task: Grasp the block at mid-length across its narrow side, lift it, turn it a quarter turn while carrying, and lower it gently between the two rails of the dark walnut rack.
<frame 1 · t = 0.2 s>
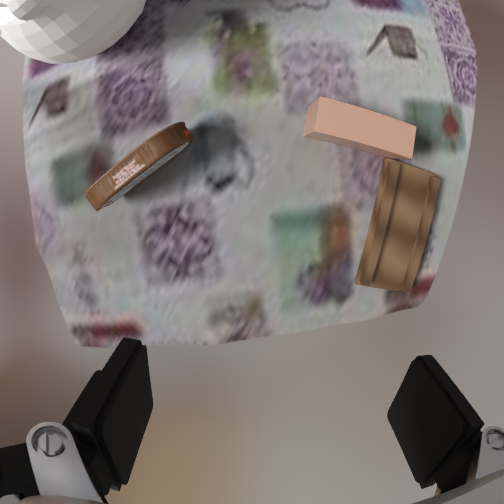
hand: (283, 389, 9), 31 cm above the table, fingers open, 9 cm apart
white vase: (106, 23, 30), on the table
rack: (397, 227, 39), on the table
tin: (149, 167, 37), on the table
block: (349, 132, 35), on the table
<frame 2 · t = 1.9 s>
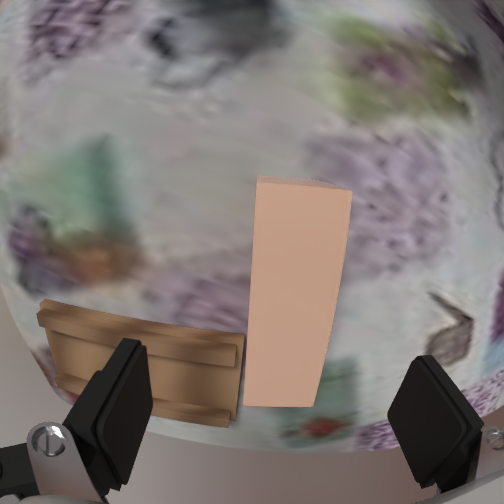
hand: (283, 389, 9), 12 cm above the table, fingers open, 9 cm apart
rack: (135, 362, 23), on the table
block: (281, 267, 20), on the table
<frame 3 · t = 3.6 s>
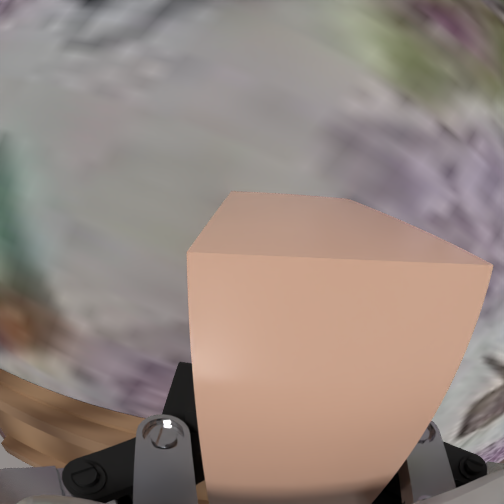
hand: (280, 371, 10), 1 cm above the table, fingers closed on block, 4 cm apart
rack: (84, 441, 14), on the table
block: (277, 348, 11), on the table, touching gripper
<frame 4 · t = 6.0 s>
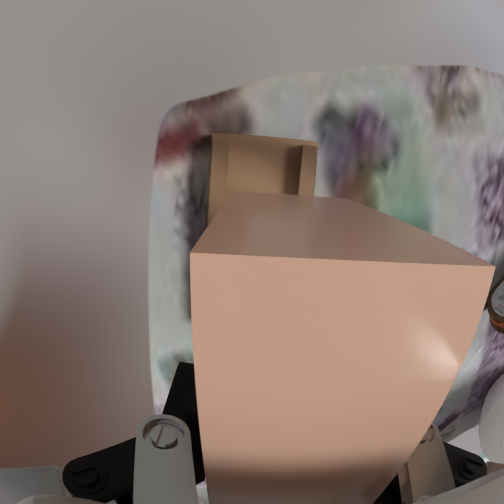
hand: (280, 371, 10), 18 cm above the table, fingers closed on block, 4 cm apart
white vase: (499, 388, 35), on the table
rack: (257, 237, 27), on the table
block: (278, 349, 11), point 16 cm above the table, touching gripper
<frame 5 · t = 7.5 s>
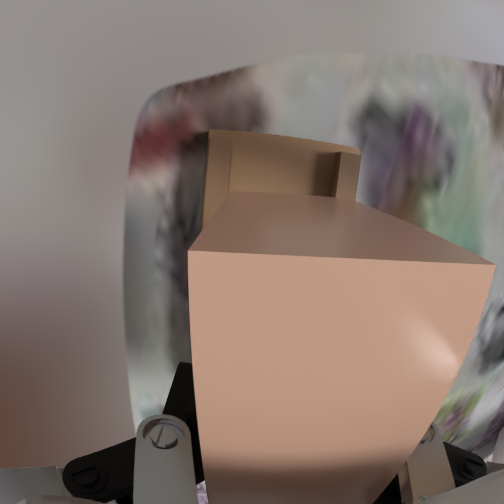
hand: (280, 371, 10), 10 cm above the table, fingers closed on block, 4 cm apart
rack: (268, 277, 20), on the table
block: (277, 348, 11), point 9 cm above the table, touching gripper
when the fingers open (5 cm above the table, at t = 8.8 s): block drops 2 cm, resting on rack.
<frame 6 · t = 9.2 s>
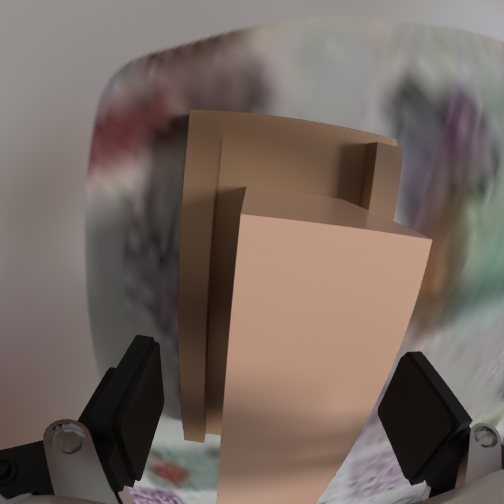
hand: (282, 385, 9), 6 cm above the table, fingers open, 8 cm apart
rack: (272, 310, 15), on the table
block: (275, 321, 14), point 1 cm above the table, touching rack
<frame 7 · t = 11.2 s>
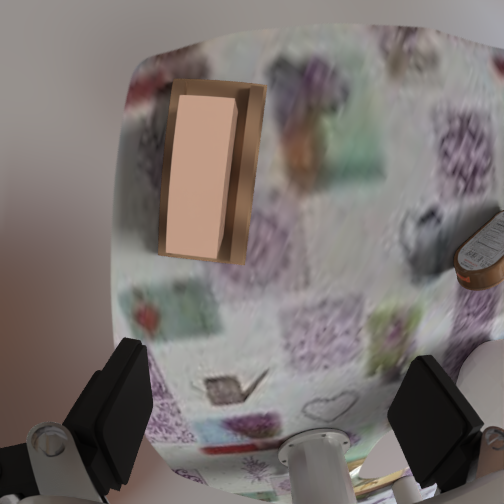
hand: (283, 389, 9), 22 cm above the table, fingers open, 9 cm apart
white vase: (475, 363, 38), on the table
beverage can: (401, 480, 51), on the table
rack: (209, 170, 28), on the table
tin: (479, 234, 31), on the table
block: (209, 171, 27), point 1 cm above the table, touching rack
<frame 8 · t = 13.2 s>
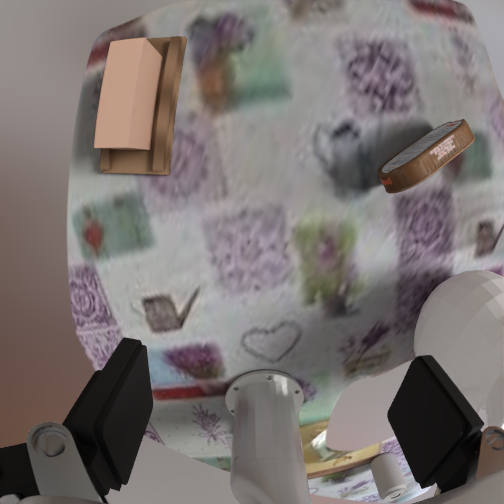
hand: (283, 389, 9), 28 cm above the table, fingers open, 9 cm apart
white vase: (442, 307, 40), on the table
beverage can: (381, 458, 52), on the table
rack: (142, 103, 32), on the table
tin: (411, 152, 34), on the table
block: (140, 102, 31), point 1 cm above the table, touching rack
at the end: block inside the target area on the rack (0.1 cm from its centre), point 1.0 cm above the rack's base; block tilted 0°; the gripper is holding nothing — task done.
